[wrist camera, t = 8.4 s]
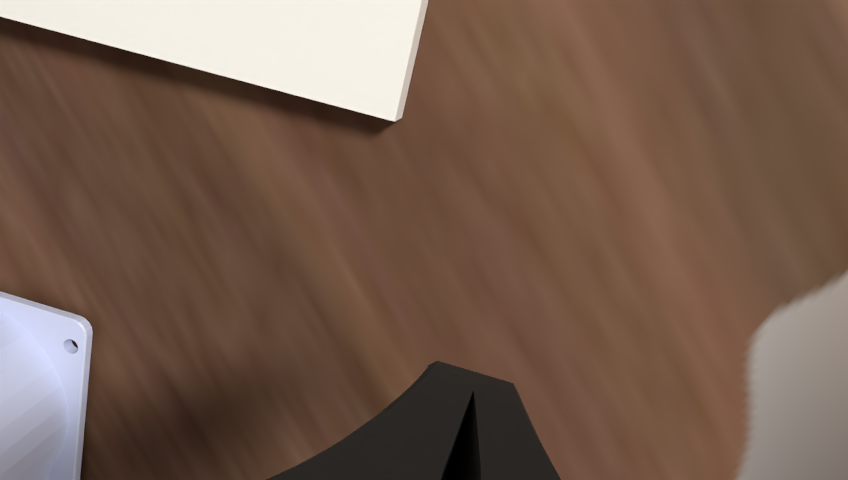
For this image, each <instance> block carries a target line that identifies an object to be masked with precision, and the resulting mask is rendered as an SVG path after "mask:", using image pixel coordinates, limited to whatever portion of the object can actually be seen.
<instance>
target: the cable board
mask: <svg viewBox="0 0 848 480" xmlns="http://www.w3.org/2000/svg"><path fill="white" fill-rule="evenodd" d="M427 5H428V0H0V17H4V18H8V19H11V20H15V21H19V22H23V23H26V24H30V25H34V26H38V27H41V28H45V29H49V30H53V31H56V32H60V33H64V34H68V35H71V36H75V37H79V38H83V39H86V40H90V41H94V42H98V43H101V44H105V45H109V46H113V47H116V48H120V49H124V50H128V51H131V52H135V53H139V54H143V55H146V56H150V57H154V58H158V59H161V60H165V61H169V62H173V63H176V64H180V65H184V66H188V67H191V68H195V69H199V70H203V71H206V72H210V73H214V74H218V75H221V76H225V77H229V78H233V79H236V80H240V81H244V82H248V83H251V84H255V85H259V86H263V87H266V88H270V89H274V90H278V91H281V92H285V93H289V94H293V95H296V96H300V97H304V98H308V99H311V100H315V101H319V102H323V103H326V104H330V105H334V106H338V107H341V108H345V109H349V110H353V111H356V112H360V113H364V114H368V115H371V116H375V117H379V118H383V119H386V120H390V121H394V122H395V121H397V120H399V119H401V118H402V115H403V111H404V106H405V102H406V97H407V93H408V89H409V84H410V80H411V75H412V71H413V66H414V62H415V58H416V53H417V49H418V44H419V40H420V36H421V31H422V27H423V22H424V18H425V13H426V9H427Z"/></svg>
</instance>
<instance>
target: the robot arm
mask: <svg viewBox="0 0 848 480" xmlns="http://www.w3.org/2000/svg"><path fill="white" fill-rule="evenodd" d="M92 334H93V332H92V327H91V325H90V323H89V322H88V321H87V320H86V319H85V318H84V317H82V316H79V315H76V314H73V313H70V312H66V311H63V310H60V309H56V308H53V307H50V306H47V305H43V304H40V303H37V302H33V301H30V300H27V299H24V298H20V297H17V296H14V295H10V294H7V293H4V292H0V480H80V474H81V462H82V450H83V439H84V427H85V416H86V404H87V392H88V381H89V369H90V358H91V346H92ZM71 339H72V340H73V341H75V342H76V343H77V345H78V348H77V347H75V346H74V345H73V343H72V340H71ZM266 480H561V479H560V477H559V475H558V474H557V472H556V470H555V468H554V466H553V464H552V463H551V461H550V459H549V457H548V455H547V453H546V451H545V449H544V448H543V446H542V444H541V442H540V440H539V438H538V436H537V434H536V431H535V429H534V427H533V425H532V423H531V421H530V419H529V416H528V414H527V412H526V410H525V408H524V405H523V403H522V401H521V398H520V396H519V394H518V392H517V390H516V388H515V386H514V384H513V383H510V382H507V381H504V380H500V379H497V378H493V377H490V376H487V375H483V374H480V373H477V372H473V371H470V370H466V369H463V368H460V367H456V366H453V365H450V364H446V363H443V362H439V361H436V362H434V363H432V364H430V365H428V367H427V369H426V370H425V371H424V373H423V374H422V375H421V376H420V377H419V378H418V379H417V380H416V381H415V382H414V383H413V384H412V385H411V386H410V387H409V388H408V389H407V390H406V391H405V392H404V393H403V394H402V395H401V396H400V397H398V398H397V399H396V400H395V401H394V402H392V403H391V404H390V405H389V406H388V407H387V408H385V409H384V410H383V411H382V412H381V413H379V414H378V415H377V416H375V417H374V418H373V419H371V420H370V421H368V422H367V423H366V424H364V425H363V426H361V427H360V428H359V429H357V430H356V431H354V432H353V433H352V434H350V435H349V436H347V437H346V438H344V439H343V440H341V441H339V442H338V443H336V444H335V445H333V446H331V447H330V448H328V449H326V450H325V451H323V452H321V453H319V454H318V455H316V456H314V457H312V458H310V459H308V460H307V461H305V462H303V463H301V464H299V465H297V466H295V467H293V468H291V469H289V470H286V471H284V472H282V473H280V474H278V475H275V476H273V477H271V478H269V479H266Z"/></svg>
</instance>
